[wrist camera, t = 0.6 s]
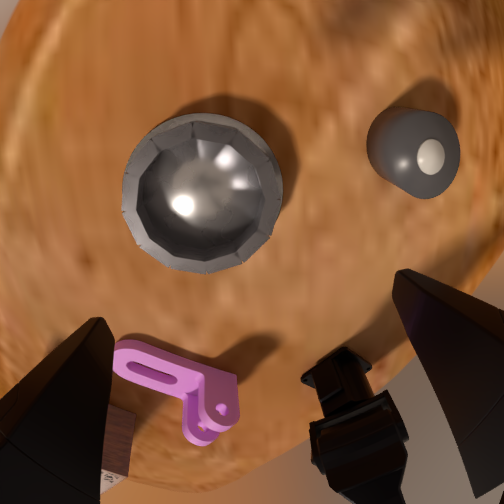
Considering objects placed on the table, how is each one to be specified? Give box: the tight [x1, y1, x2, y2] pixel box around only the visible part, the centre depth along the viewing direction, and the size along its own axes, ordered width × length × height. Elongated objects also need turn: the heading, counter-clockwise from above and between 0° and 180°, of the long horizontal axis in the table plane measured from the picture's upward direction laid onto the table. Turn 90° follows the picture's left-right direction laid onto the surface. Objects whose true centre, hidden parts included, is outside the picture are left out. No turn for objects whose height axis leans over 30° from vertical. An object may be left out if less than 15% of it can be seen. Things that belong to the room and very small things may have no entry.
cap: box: [367, 107, 460, 199], centre depth 18 cm, size 6×6×4 cm
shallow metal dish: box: [121, 113, 283, 274], centre depth 19 cm, size 11×11×2 cm
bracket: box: [113, 340, 240, 446], centre depth 26 cm, size 13×6×7 cm, turn 58°
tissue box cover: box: [100, 404, 136, 495], centre depth 31 cm, size 26×14×10 cm, turn 146°
